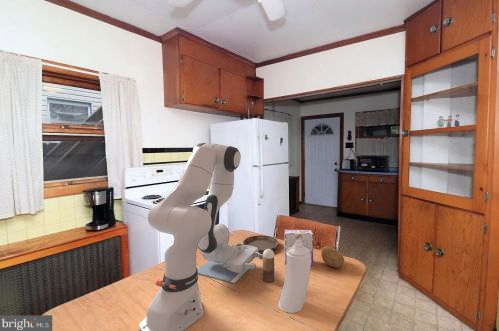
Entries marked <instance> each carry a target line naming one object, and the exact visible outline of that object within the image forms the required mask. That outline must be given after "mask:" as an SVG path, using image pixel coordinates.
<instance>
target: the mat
mask: <svg viewBox="0 0 499 331" xmlns="http://www.w3.org/2000/svg"><path fill="white" fill-rule="evenodd" d="M249 264H252V262H250V263H249ZM197 269H198V275H200V276H204V277H208V278H211V279H216V280H219V281H222V282H226V283H231V284H233V285H236V284H237V282H239V280H240V279H241V278H243V276H244V275H245V274H247V272H248V271H249V269H244V270H243V271H242V272H241V273H236V272H233V271H230V270H228V269H227V268H225V267H224V266H223V264H222V263H216V262H212V261H209V260H207V262H205V263H204V264H203V265H201V266H200V267H198V268H197Z"/></svg>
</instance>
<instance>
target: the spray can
mask: <svg viewBox="0 0 499 331" xmlns="http://www.w3.org/2000/svg"><path fill="white" fill-rule="evenodd" d="M286 256H287V264H286V267H285V278H284V280H283V281H284V282H283V285H282V289H281V294H280V297H279V301H278V304H277V305H278V309H280V310H281V311H282V312H285V313H287V314H288V313H289V314H296V313H299V312H300V311H301V310H303V306H304V303H305V300H306V296H307V291H308V287H309V282H310V276H311V275H310V274H311V266H312V265H311V253H310V250H309V249H308V248H306V247H304V245H303V244H302V240H296V243H295V244H294V245H293V247H289V248H288V249H287V252H286Z"/></svg>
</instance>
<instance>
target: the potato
mask: <svg viewBox="0 0 499 331" xmlns="http://www.w3.org/2000/svg"><path fill="white" fill-rule="evenodd" d="M320 255H321V258H322V261H323V262H324V264H326V265H327V266H329V267H332V268H337V269H338V268H340V267H342V266H343V265H344V264H345V258H344V256H343V255H342V254H341V252H340V250H339V251H338V250H337V249H335V248H334V247H333V246H328V245H326V246H325V245H324V247H322V249H321V254H320Z"/></svg>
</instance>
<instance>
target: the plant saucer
mask: <svg viewBox="0 0 499 331" xmlns="http://www.w3.org/2000/svg"><path fill="white" fill-rule="evenodd" d="M242 244H243V245H249V246H254V247H257V248H258V253H260V254H263V252H264V251H265V250H266V249H271V250H272V251H274V250H275V249H276V248H277V247H278V246H279V241H278V239H277V238H275V237H273V236H270V235H263V234H261V235H260V234H259V235H250V236H249V237H246V238H245V239H244V240H243V243H242Z"/></svg>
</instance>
